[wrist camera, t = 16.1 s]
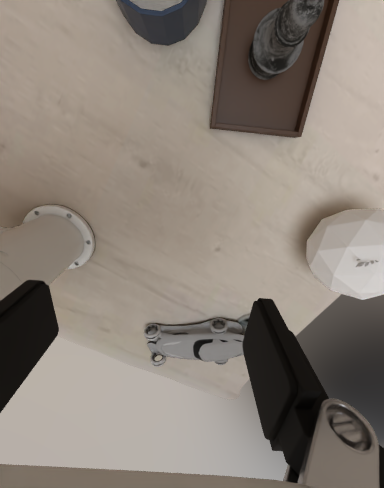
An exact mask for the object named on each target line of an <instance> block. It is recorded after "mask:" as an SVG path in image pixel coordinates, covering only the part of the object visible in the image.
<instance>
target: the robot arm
mask: <svg viewBox="0 0 384 488" xmlns="http://www.w3.org/2000/svg"><path fill="white" fill-rule="evenodd" d="M94 248H95V239H94V235H93V232H92V230H91V228H90V226H89V225H88V224H87V222H86V221H85V220H84V219H83V218H82V217H81V216H80V215H79V214H77V213H76V212H74V211H73V210H71V209H69V208H66V207H64V206H60V205H43V206H40V207H37V208H35V209H33V210H31V211H30V212H29V213H28V214H27V215H26V217H25V218H24V220H23V224H22V225H20V226H17V227H12V228H6V227H0V413H1V411H2V410H3V408H4V407H5V405H6V404H7V403H8V402H9V400H10V399H11V398H12V396H13V395H14V394H15V392H16V391H17V389H18V388H19V387H20V385H21V384H22V383H23V381H24V380H25V379H26V377H27V376H28V374H29V373H30V372H31V370H32V369H33V368H34V366H35V365H36V364H37V362H38V361H39V359H40V358H41V357H42V356H43V354H44V353H45V351H46V350H47V349H48V347H49V346H50V345H51V343H52V342H53V340H54V339H55V338H56V336H57V334H58V331H59V328H58V323H57V319H56V315H55V310H54V306H53V302H52V298H51V293H50V289H49V285H50V284H51V283H52V282H53V281H54V280H55V279H56V278H57V277H58V276H59V275H60V274H61V273H62V272H64V271H65V270H66V269H72V268H77V267H79V266H81V265H83V264H85V263H86V262H87V261H88V260H89V259H90V257H91V256H92V254H93V252H94ZM242 347H243V353H244V357H245V361H246V365H247V369H248V373H249V377H250V381H251V385H252V389H253V393H254V397H255V401H256V405H257V409H258V413H259V417H260V421H261V425H262V429H263V433H264V436H265V438H266V439H268V440H270V444H271V447H272V450H273V451H283V453H284V457H285V460H286V462H287V463H288V466H287V470H286V473H285V476H284V479H283V481H278V480H269V479H256V478H243V477H230V476H217V475H200V474H182V473H164V472H146V471H127V470H107V469H89V468H87V469H86V468H68V467H49V466H28V465H6V464H0V488H384V448H382V447H381V446H380V445H379V444H378V439H377V436H376V434H375V432H374V430H373V428H372V427H371V426H370V424H369V423H368V421H367V420H366V419H365V418H364V417H363V416H362V415H361V414H360V413H359V412H358V411H357V410H356V409H354V408H353V407H352V406H351V405H349V404H347V403H345V402H343V401H341V400H337V399H329V398H328V396H327V394H326V392H325V390H324V388H323V387H322V385H321V383H320V381H319V380H318V377H317V376H316V374H315V372H314V370H313V369H312V367H311V365H310V363H309V361H308V359H307V358H306V356H305V354H304V352H303V350H302V349H301V347H300V345H299V343H298V341H297V339H296V337H295V336H294V334H293V333H292V332H291V331H290V330H288V328H287V326H286V324H285V322H284V320H283V318H282V316H281V315H280V313H279V311H278V309H277V307H276V305H275V303H274V301H273V300H272V299H263V298H259V299H258V300H257V301H254V303H253V306H252V310H251V314H250V317H249V321H248V325H247V328H246V332H245V335H244V339H243V344H242Z"/></svg>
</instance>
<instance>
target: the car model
mask: <svg viewBox="0 0 384 488" xmlns="http://www.w3.org/2000/svg"><path fill="white" fill-rule="evenodd" d="M242 332H243V330H242V327H241V325H240V324H239V323H237V322H233V321H229V320H225V319H222V318H215V319H213V320H210V321H207V322H203V323H200V324H193V325H185V326H164V325H157V324H150V325H148V326H147V327H146V328H145V329H144V336H145V338H146V339H148V340H149V341H151V342H149V343H147V344H148V347H149V349H150V350H151V352H152V355H151V363H152V364H153V365H154V366H156V367H158V366H161V365H163V364H164V363H165V361H166V356H168V357H173V358H180V359H194V360H203V361H206V362H211V361H214V362H215V363H216V364H218V365H223V364H225V363H226V362H227V361H228V358H233V357H237V356H241V355H244V353H243V347H242V344H243V339H244V335H240V333H242ZM157 355H162V356H163V358H162V359H161V360H160V361H155V360H154V358H155V357H156V356H157Z"/></svg>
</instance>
